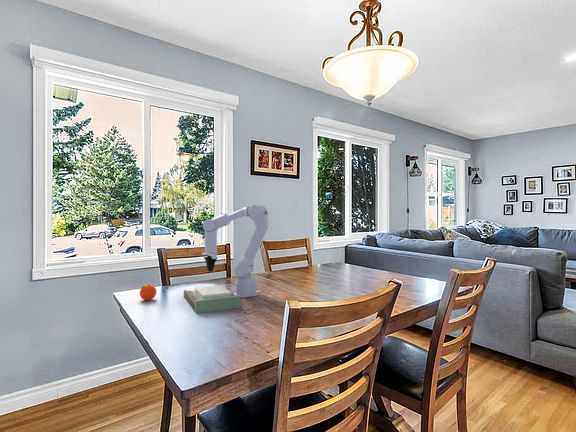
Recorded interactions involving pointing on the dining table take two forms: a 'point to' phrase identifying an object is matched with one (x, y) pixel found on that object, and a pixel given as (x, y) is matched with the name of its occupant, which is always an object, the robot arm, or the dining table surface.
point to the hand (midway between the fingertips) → (210, 271)
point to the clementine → (147, 292)
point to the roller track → (191, 298)
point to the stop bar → (217, 303)
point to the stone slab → (211, 292)
